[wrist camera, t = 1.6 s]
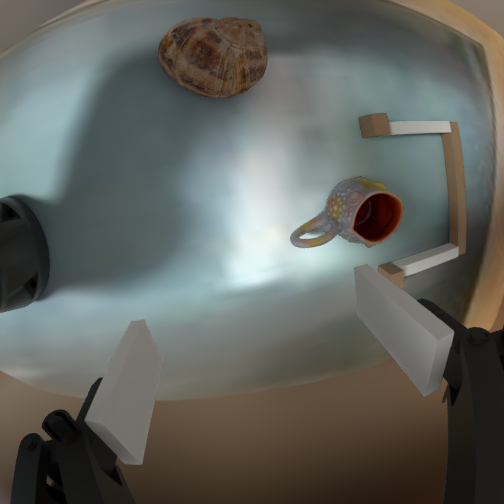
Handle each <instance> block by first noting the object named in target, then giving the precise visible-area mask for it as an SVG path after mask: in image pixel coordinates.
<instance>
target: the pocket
mask: <svg viewBox="0 0 504 504" xmlns="http://www.w3.org/2000/svg"><path fill="white" fill-rule="evenodd" d="M359 123H360V127H361V132H362V137H363V138H365V137H375V136H387V135H402V134H422V133H441V136H442V142H443V149H444V156H445V164H446V173H447V184H448V198H449V243H447V244H444V245H441V246H438V247H435V248H432V249H430V250H427V251H424V252H421V253H418V254H415V255H411V256H408V257H405V258H402V259H399V260H396V261H393V262H390V263H386V264H383V265H380V266H378V272H379V273H380V274H382V275H383V276H384V277H386V278H387V279H388V280H390V281H391V282H392V283H394V284H395V285H396V286H398V287H399V288H400V289H402V288H404V277H406V276H408V275H411V274H414V273H417V272H420V271H422V270H425V269H428V268H430V267H433V266H436V265H438V264H441V263H443V262H446V261H448V260H451V259H453V258H456V257H458V256H459V255H461V254H464V253H465V252H466V191H465V176H464V166H463V157H462V149H461V142H460V136H459V130H458V125H457V122H449V121H397V122H389V121H388V117H387V113H378V114H369V115H366V116H363V117H360V118H359Z"/></svg>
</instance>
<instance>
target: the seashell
mask: <svg viewBox="0 0 504 504" xmlns="http://www.w3.org/2000/svg"><path fill="white" fill-rule="evenodd" d="M158 55H159V60H160V63H161V67H162V68H163V70H164V72H165V73H166V74H167V75H168V76H169V77H170V78H171V79H172V80H173V81H175V82H176V83H177V84H179V85H180V86H182V87H183V88H184V89H186V90H188V91H190V92H192V93H195V94H198V95H201V96H204V97H218V98H220V97H232V96H235V95H237V94H240V93H243V92H245V91H247V90H248V89H249V88H250V87H252V86H253V85H254V84H256V83H257V82H258V81H259V80H260V79H261V77H262V76H263V74H264V72H265V70H266V65H267V49H266V45H265V41H264V35H263V32H262V30H261V27H260V25H259V24H258V23H257V22H256V21H254V20H249V19H238V18H224V19H220V20H217V19H212V18H192V19H189V20H185V21H182V22H180V23H179V24H177V25H175V26H174V27H173V28H171V29H170V30H169V31H168V32H167V33H166V34H165V35H164V37H163V38H162V40H161V42H160V45H159V50H158Z"/></svg>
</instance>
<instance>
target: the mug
mask: <svg viewBox="0 0 504 504" xmlns="http://www.w3.org/2000/svg"><path fill="white" fill-rule="evenodd" d="M402 215H403V203H402V201H401V199H400V198H399V197H398V196H396V195H395V194H393V193H391V192H388V191H387V189H386V187H385V186H384V185H383V184H382V183H380V182H373V181H370V180H367V179H365V178H364V177H362V176H361V177H358V178H351V179H347V180H344V181H342V182H341V183H339V184H338V185H337V186H336V187H335V188H334V189H333V190H332V191H331V193H330V195H329V197H328V199H327V202H326V206H325V209H324V211H323V212H322V213H320V214H319V215H318V216H316V217H315V218H313V219H312V220H310V221H308V222H307V223H305V224H303V225H302V226H300V227H299V228H297V229H296V230H295V231H294V232H293V233H292V234H291V236H290V241H291V243H292V244H293V245H294V246H296V247H299V248H311V247H316V246H320V245H323V244H325V243H327V242H329V241H330V240H332V239H333V238H334V237H335V236H336V235H337V234H338V235H339V236H341V237H343V238H344V239H345V240H348V241H349V242H354V243H361V244H365V246H366V247H368V248H370V247H372V246H375V245H376V244H380V243H382V242H384V241H385V240H387V239H388V238H389V237H390V236H392V235H393V234H394V233H395V231H396V230H397V229H398V227H399V225H400V222H401V219H402ZM321 227H323V229H324V231H325V232H326V234H324V235H322V236H320V237H317V238H312V239H300V237H301V236H302V235H304V234H306V233H307V232H309V231H312V230H314V229H317V228H321Z"/></svg>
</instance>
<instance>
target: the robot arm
mask: <svg viewBox="0 0 504 504" xmlns="http://www.w3.org/2000/svg"><path fill="white" fill-rule="evenodd" d="M48 276H49V254H48V248H47V243H46V240H45V236H44V233H43V231H42V228H41V226H40V224H39V222H38V220H37V218H36V217H35V215H34V214H33V212H32V211H31V210H30V209H29V208H28V207H27V206H26V205H25V204H24V203H23V202H21V201H20V200H18V199H15V198H12V197H5V198H1V199H0V313H2V312H7V311H11V310H15V309H19V308H23V307H25V306H28V305H29V304H31V303H32V302H33V301H34V300H35V299H37V298H38V297H39V296H40V295H41V294H42V292H43V291H44V289H45V287H46V284H47V281H48ZM354 278H355V292H356V311H357V315H358V317H359V318H360V319H361V320H362V321H363V322H364V324H365V325H366V326H367V327H368V328H369V330H370V331H371V332H372V333H373V334H374V335H375V337H376V338H377V339H378V340H379V341H380V343H381V344H382V345H383V346H384V347H385V349H386V350H387V351H388V352H389V353H390V355H391V356H392V357H393V358H394V359H395V361H396V362H397V363H398V364H399V366H400V367H401V368H402V369H403V371H404V372H405V373H406V374H407V375H408V377H409V378H410V379H411V380H412V382H413V383H414V384H415V385H416V387H417V388H418V389H419V391H420V392H421V393H422V394H423V396H426V395H428V394H430V393H432V392H433V391H435V390H437V389H439V388H440V385H441V382H442V379H443V377H444V379H445V380H446V381H447V382H448V385H447V388H446V390H445V394H444V396H443V400H442V403H444V402H445V400H446V397H447V407H448V455H447V471H446V482H445V491H444V498H443V504H504V326H503V329H502V330H499V331H495V332H492V333H489V332H488V331H487V330H485V329H483V328H480V327H472V328H468V329H467V328H466V327H465V326H463V325H462V324H461V323H459V322H458V321H457V320H456V319H454V318H453V317H452V316H450V315H449V314H448V313H447V314H446V312H445V311H444V310H442V309H440V307H438V306H437V305H436V304H434V303H433V302H431V301H428V300H425V299H423V298H421V299H419V300H417V301H416V300H415V299H413V298H412V297H411V296H410V295H408V294H407V293H406V292H404V291H403V290H402V289H400V288H399V287H398V286H396V285H395V284H394V283H392V282H391V281H390V280H388V279H387V278H386V277H384V276H383V275H382V274H380V273H379V272H377V271H376V270H375V269H373V268H372V267H371V266H369V265H368V264H365V265H362V266H358V267H355V268H354ZM163 364H164V361H163V359H162V357H161V355H160V353H159V351H158V349H157V346H156V344H155V342H154V340H153V338H152V336H151V334H150V331H149V329H148V327H147V325H146V323H145V320H144V319H142V320H137V321H132V322H131V323H130V324H129V326H128V328H127V330H126V332H125V334H124V336H123V338H122V340H121V342H120V344H119V346H118V348H117V350H116V352H115V354H114V356H113V358H112V360H111V362H110V364H109V366H108V368H107V371H106V373H105V375H104V377H103V378H99V379H98V380H97V381H96V382H95V383H94V384H93V385H92V386H91V389H90V391H89V393H88V396H87V397H86V399H85V402H84V404H83V406H82V408H81V410H80V413H79V415H78V417H77V419H76V421H75V420H74V419H73V418H72V417H71V416H70V414H69V413H68V412H67V411H65V410H55V411H53V412H51V413H50V414H49V415H48V416H47V417H46V418H45V419H44V421H43V423H42V428H43V430H44V431H45V432H46V433H47V434H48V435H49V436H50V437H51V438H52V439H53V440H49V441H44V440H43V439H42V438H41V437H40V435H38V434H37V433H31V434H28V435H27V436H25V437H24V438H23V440H22V441H21V443H20V446H19V451H18V455H17V460H16V466H15V472H14V478H13V485H12V494H11V504H136V502H135V500H134V498H133V496H132V494H131V492H130V489H129V488H128V485H127V483H126V481H125V479H124V476H123V474H122V472H121V470H120V468H119V466H118V465H117V464H116V459H117V457H118V458H119V459H121V461H123V462H124V463H125V464H138V465H142V462H143V456H144V451H145V445H146V440H147V435H148V430H149V425H150V420H151V415H152V411H153V406H154V402H155V397H156V393H157V389H158V384H159V380H160V376H161V372H162V368H163ZM47 478H49V479H50V480H51V481H52V485H51V486H49V485H48V484H47V483H46V480H47Z"/></svg>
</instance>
